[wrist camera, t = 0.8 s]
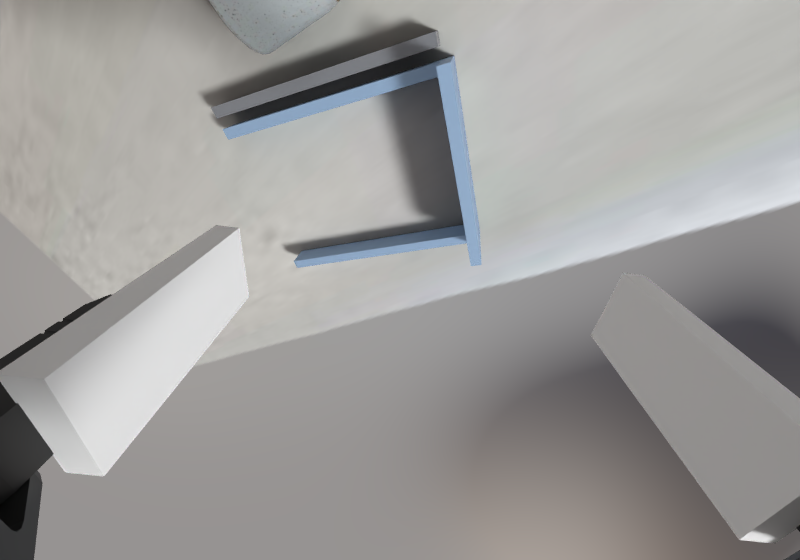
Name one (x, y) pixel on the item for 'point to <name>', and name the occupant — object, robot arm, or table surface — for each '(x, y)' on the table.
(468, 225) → the frame
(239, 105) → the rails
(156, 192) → the table surface
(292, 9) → the ceramic mug
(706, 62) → the table surface
